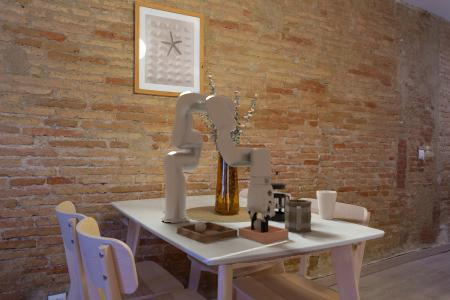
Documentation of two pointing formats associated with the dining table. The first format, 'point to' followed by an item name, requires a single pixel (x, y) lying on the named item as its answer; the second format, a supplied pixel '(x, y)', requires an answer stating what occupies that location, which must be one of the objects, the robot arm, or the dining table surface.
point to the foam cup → (326, 204)
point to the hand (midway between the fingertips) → (259, 230)
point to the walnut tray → (208, 232)
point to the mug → (298, 216)
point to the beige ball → (200, 227)
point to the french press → (279, 201)
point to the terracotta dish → (264, 234)
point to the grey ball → (257, 224)
